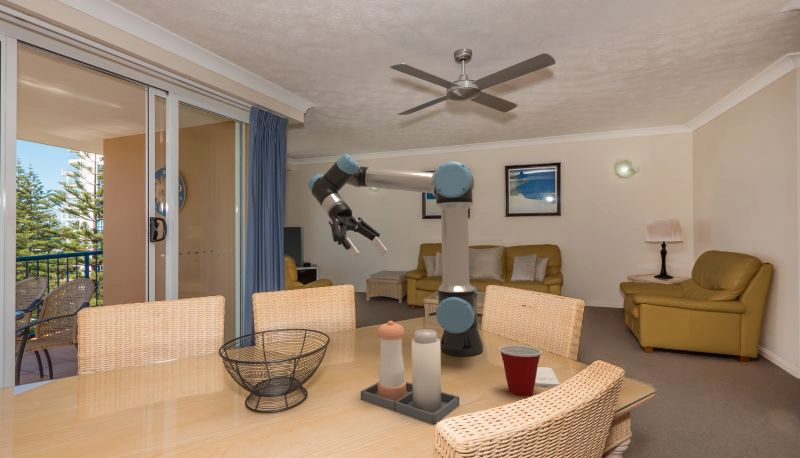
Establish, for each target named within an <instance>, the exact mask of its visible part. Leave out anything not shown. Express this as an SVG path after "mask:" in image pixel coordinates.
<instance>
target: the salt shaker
mask: <svg viewBox="0 0 800 458" xmlns="http://www.w3.org/2000/svg"><path fill="white" fill-rule="evenodd" d="M437 334H438V333H437V330H435V329H429V328H423V329H422V328H420V329H417V330H415V331H414V337H413V338H412V339H411V376H412V378H411V379H412V380H411V383H412V390H413V407H415V408H418V409H421V410H424V411H427V412H430V413H433V414H434V413H435V412H437V411H438V410H439V409H441V408H442V405H441V392H442V366H441V363H442V361H441V359H442V358H441V356H442V355H441V354H442V352H441V350H440V342H441V339H440V338H439V337H438V335H437Z"/></svg>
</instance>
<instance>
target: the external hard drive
mask: <svg viewBox="0 0 800 458" xmlns="http://www.w3.org/2000/svg"><path fill="white" fill-rule="evenodd" d="M559 384H560V385H561V383H560V381H559V379H558V378H557V375H556V374H555V372H554V370H553V368H552V367H546V366H545V367H544V366H538V367H537V374H536V381H535V384H534V387H538V388H539V387H540V388H542V387H543V388H553V387H555V386H557V385H559Z"/></svg>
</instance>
